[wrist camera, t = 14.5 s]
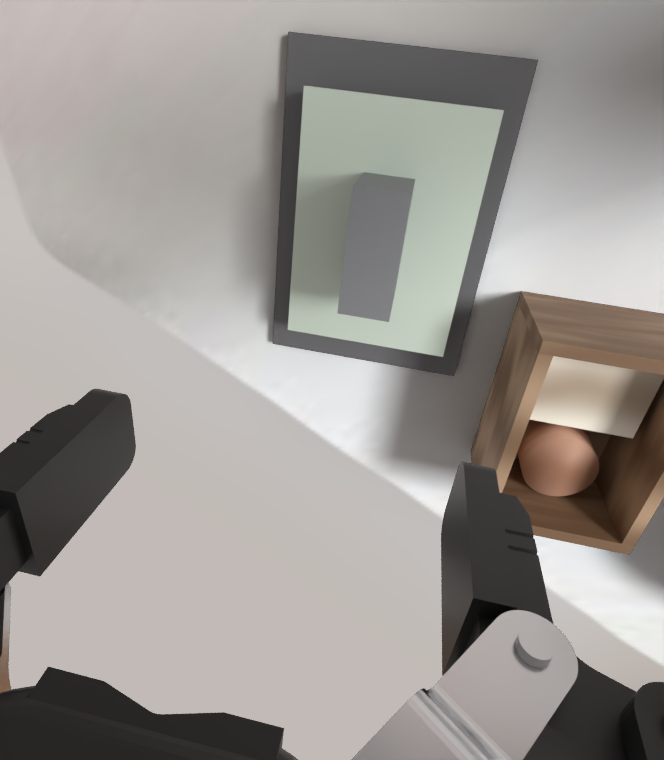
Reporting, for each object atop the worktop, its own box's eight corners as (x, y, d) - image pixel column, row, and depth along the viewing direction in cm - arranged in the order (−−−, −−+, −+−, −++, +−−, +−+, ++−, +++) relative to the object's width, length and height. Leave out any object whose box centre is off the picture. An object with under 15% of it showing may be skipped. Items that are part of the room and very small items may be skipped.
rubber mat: (290, 32, 29) (288, 31, 29) (536, 60, 28) (538, 60, 27) (274, 340, 39) (272, 343, 39) (453, 372, 38) (453, 375, 37)
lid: (312, 86, 30) (279, 83, 24) (499, 109, 29) (517, 113, 22) (295, 318, 37) (267, 361, 31) (442, 343, 36) (444, 394, 30)
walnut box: (521, 291, 34) (542, 340, 27) (675, 315, 33) (738, 373, 26) (470, 452, 41) (477, 523, 34) (596, 476, 40) (629, 554, 33)
